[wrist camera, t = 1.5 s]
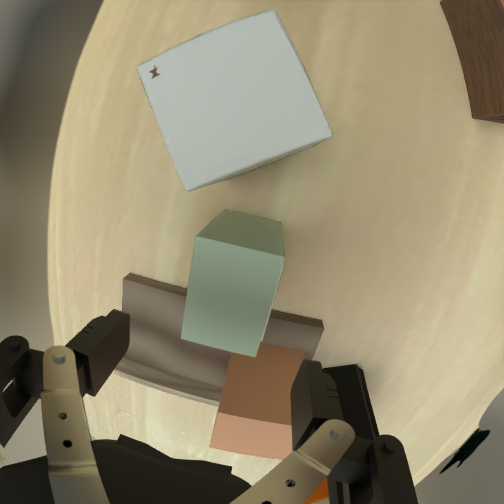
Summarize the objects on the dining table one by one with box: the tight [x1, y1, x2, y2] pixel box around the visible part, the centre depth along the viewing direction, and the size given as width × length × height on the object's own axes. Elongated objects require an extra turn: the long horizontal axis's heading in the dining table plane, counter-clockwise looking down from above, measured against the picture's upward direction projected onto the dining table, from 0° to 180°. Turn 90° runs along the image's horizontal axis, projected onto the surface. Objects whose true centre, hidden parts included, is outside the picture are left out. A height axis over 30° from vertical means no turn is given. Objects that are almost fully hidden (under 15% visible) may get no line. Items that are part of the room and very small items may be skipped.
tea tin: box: [181, 209, 285, 357], centre depth 22 cm, size 5×7×10 cm
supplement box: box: [136, 10, 332, 192], centre depth 17 cm, size 7×7×13 cm
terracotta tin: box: [209, 343, 306, 460], centre depth 23 cm, size 5×7×10 cm
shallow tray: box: [114, 273, 324, 407], centre depth 28 cm, size 11×20×4 cm, turn 77°
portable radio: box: [322, 365, 380, 504], centre depth 19 cm, size 8×6×25 cm
